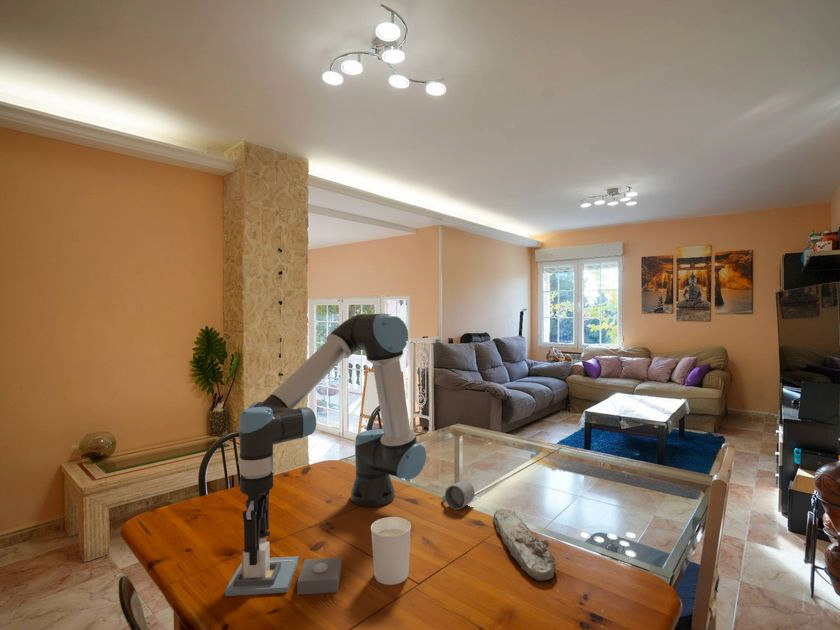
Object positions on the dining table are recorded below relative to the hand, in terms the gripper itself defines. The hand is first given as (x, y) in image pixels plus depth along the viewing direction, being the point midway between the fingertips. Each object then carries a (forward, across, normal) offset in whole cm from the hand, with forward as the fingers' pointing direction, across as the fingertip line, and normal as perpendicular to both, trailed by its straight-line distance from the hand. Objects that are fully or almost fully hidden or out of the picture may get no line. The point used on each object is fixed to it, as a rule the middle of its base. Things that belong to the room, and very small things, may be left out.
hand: (257, 570), depth 106 cm
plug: (+1, 0, 0) cm, 1 cm away
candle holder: (+3, 0, +32) cm, 32 cm away
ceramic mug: (+3, -37, +54) cm, 66 cm away
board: (+3, -2, +1) cm, 3 cm away
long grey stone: (+3, -10, +68) cm, 68 cm away
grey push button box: (+3, +2, +15) cm, 15 cm away
